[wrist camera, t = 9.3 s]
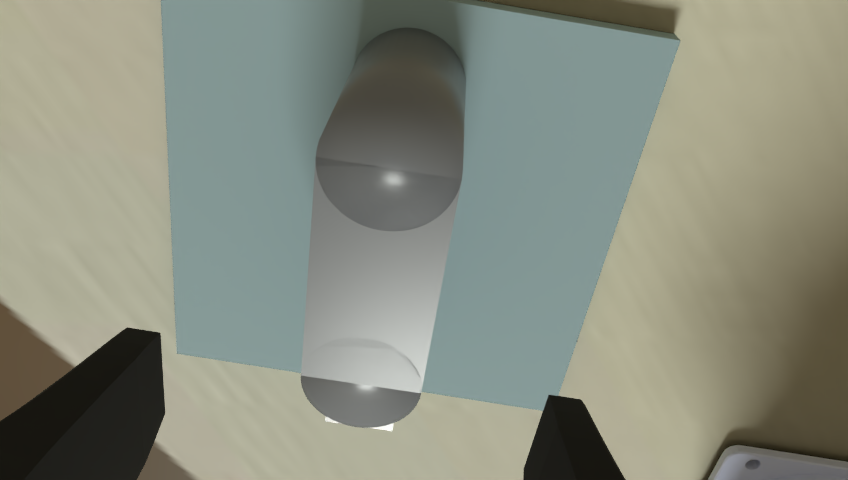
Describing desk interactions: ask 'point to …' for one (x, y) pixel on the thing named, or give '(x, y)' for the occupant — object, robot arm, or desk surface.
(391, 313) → the plug
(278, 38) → the mat
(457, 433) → the desk surface
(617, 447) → the desk surface
